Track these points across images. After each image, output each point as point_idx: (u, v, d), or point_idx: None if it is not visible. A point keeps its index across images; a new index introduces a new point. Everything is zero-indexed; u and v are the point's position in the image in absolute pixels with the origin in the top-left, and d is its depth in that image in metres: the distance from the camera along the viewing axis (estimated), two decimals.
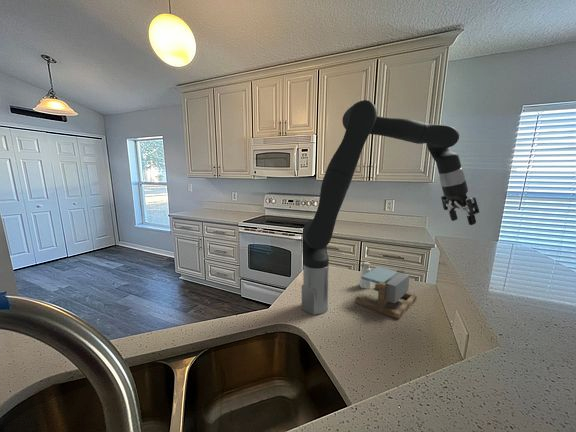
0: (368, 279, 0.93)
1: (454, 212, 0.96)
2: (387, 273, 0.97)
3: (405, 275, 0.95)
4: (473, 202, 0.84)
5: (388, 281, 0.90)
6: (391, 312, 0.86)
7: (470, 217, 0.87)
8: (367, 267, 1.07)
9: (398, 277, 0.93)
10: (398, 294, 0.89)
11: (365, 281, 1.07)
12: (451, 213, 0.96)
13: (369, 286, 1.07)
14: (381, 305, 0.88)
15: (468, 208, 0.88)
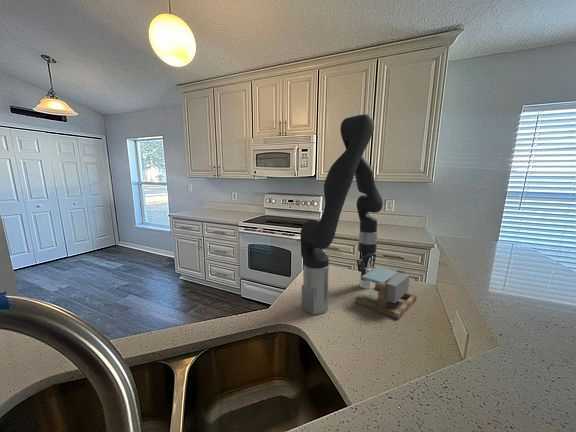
0: (368, 279, 0.93)
1: None
2: (387, 273, 0.97)
3: (405, 275, 0.95)
4: (360, 264, 1.03)
5: (388, 281, 0.90)
6: (391, 312, 0.86)
7: None
8: None
9: (398, 277, 0.93)
10: (398, 294, 0.89)
11: (365, 281, 1.07)
12: None
13: (369, 286, 1.07)
14: (381, 305, 0.88)
15: (363, 266, 1.06)
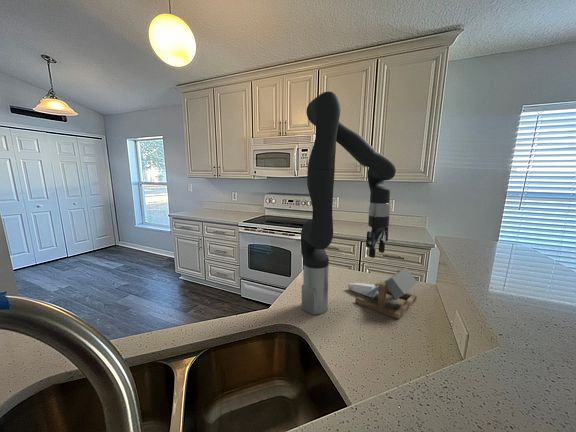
0: (372, 291, 0.93)
1: (382, 245, 0.99)
2: (388, 278, 0.97)
3: None
4: (370, 236, 0.91)
5: (387, 280, 0.90)
6: (391, 312, 0.86)
7: None
8: (351, 286, 1.05)
9: (396, 274, 0.94)
10: (403, 285, 0.87)
11: (363, 290, 1.00)
12: (379, 244, 1.00)
13: (369, 287, 0.99)
14: (381, 305, 0.88)
15: None
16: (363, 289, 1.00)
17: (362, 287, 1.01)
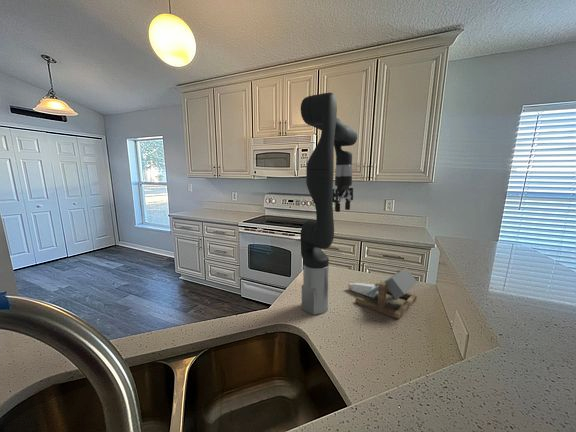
0: (372, 291, 0.93)
1: (348, 203, 1.16)
2: (388, 278, 0.97)
3: None
4: (334, 192, 1.07)
5: (387, 280, 0.90)
6: (391, 312, 0.86)
7: None
8: (351, 286, 1.05)
9: (396, 274, 0.94)
10: (403, 285, 0.87)
11: (363, 290, 1.00)
12: (345, 202, 1.16)
13: (369, 287, 0.99)
14: (381, 305, 0.88)
15: (338, 198, 1.10)
16: (363, 289, 1.00)
17: (362, 287, 1.01)
